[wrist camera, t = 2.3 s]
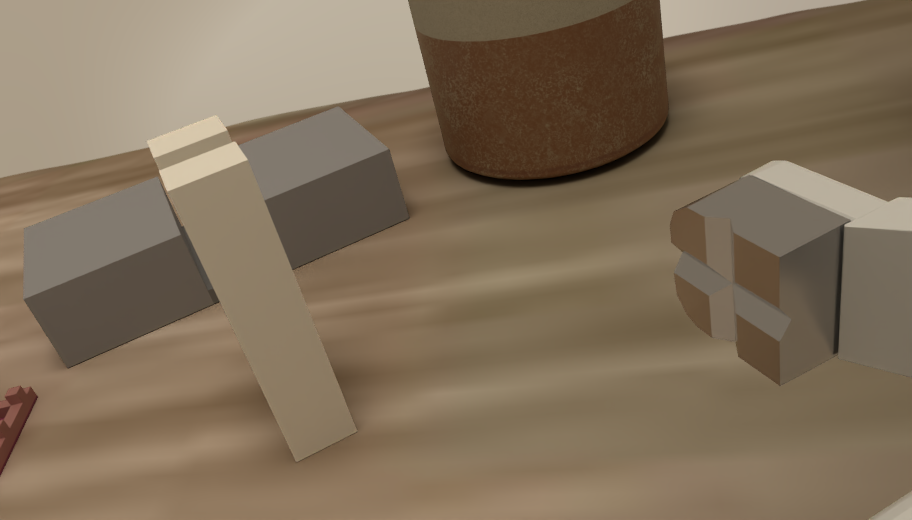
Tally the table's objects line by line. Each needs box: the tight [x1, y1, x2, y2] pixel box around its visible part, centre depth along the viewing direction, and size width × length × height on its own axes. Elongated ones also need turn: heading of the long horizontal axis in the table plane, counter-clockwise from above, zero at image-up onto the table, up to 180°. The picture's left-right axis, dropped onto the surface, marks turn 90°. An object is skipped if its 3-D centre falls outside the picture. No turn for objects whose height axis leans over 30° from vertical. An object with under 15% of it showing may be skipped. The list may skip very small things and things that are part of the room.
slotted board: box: [23, 107, 409, 368], centre depth 52 cm, size 22×10×5 cm, turn 116°
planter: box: [408, 0, 669, 180], centre depth 54 cm, size 16×16×14 cm
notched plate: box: [147, 115, 357, 462], centre depth 35 cm, size 3×6×14 cm, turn 26°
